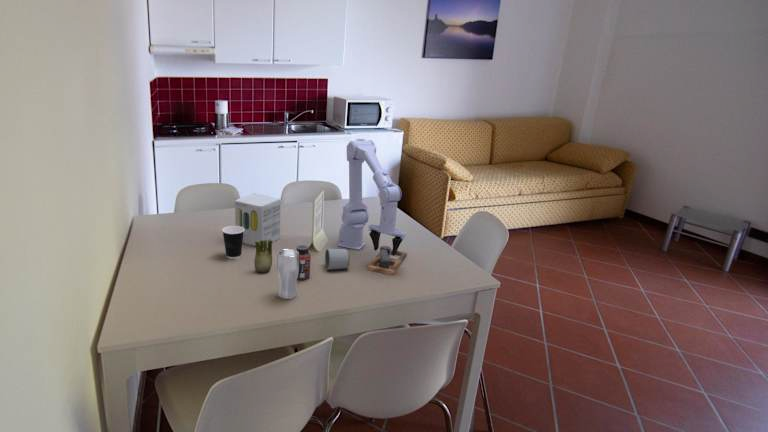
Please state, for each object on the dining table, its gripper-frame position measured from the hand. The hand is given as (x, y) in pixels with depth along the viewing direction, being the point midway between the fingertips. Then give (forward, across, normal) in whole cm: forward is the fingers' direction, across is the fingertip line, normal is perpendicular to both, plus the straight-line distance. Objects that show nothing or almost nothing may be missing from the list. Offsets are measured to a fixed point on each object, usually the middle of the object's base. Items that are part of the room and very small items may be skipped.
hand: (385, 252), depth 185 cm
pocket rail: (+6, +1, -5) cm, 8 cm away
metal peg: (+6, 0, 0) cm, 6 cm away
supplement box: (+7, +54, +7) cm, 55 cm away
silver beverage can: (+6, +16, +38) cm, 42 cm away
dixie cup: (+7, +50, +26) cm, 57 cm away
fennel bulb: (+6, +33, +29) cm, 45 cm away
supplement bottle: (+6, +20, +25) cm, 33 cm away
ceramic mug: (+7, +15, +10) cm, 19 cm away
